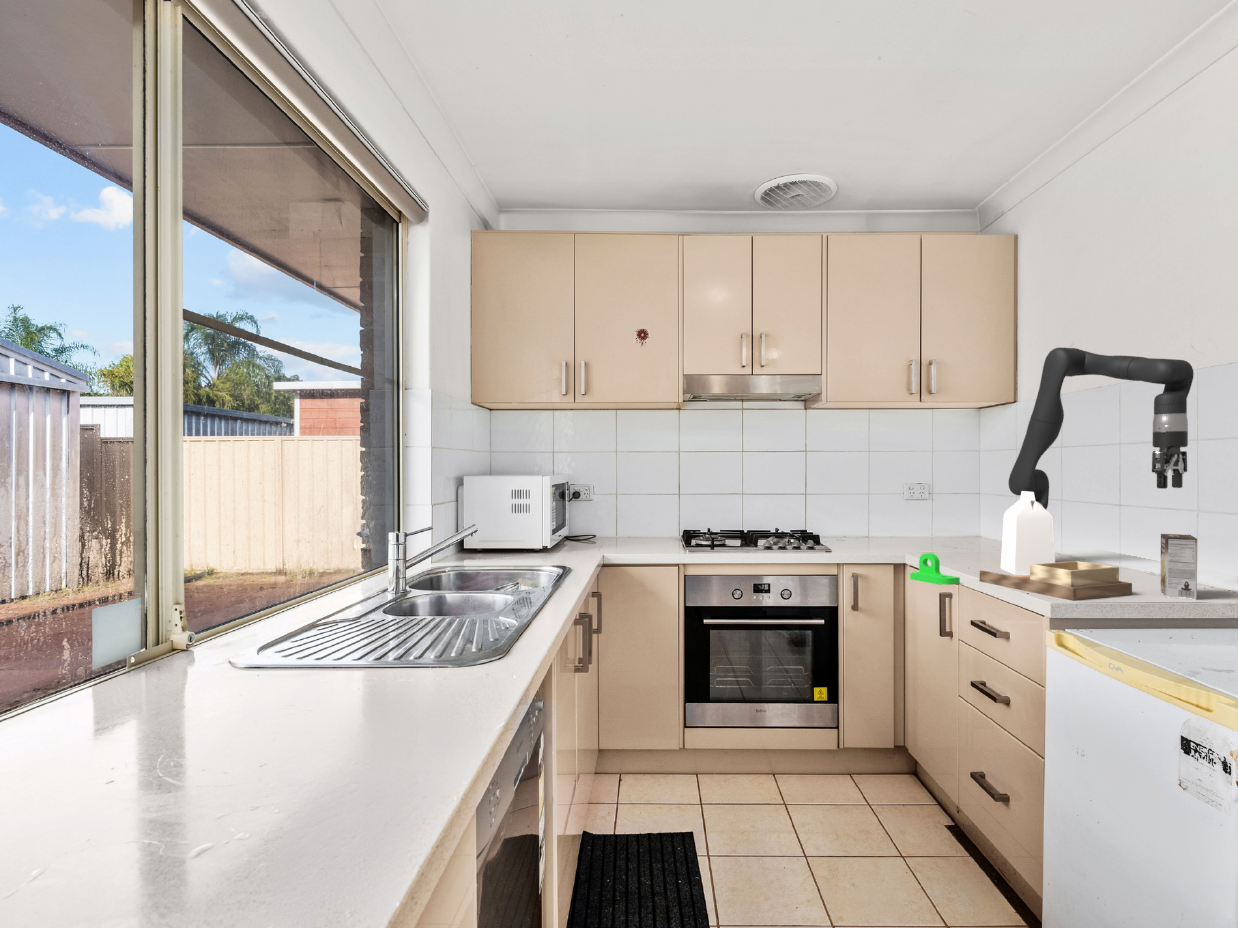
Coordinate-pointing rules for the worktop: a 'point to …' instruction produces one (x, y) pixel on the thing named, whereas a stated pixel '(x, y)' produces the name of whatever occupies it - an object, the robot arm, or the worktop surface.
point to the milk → (1026, 536)
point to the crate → (1074, 573)
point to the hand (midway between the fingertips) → (1169, 488)
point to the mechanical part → (932, 572)
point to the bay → (1057, 587)
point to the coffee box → (1179, 565)
